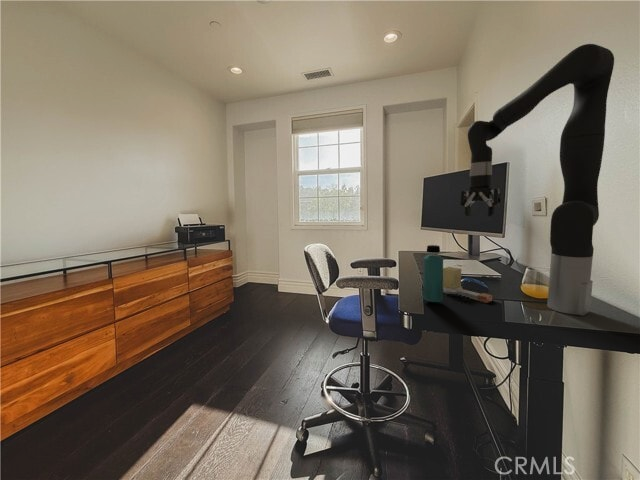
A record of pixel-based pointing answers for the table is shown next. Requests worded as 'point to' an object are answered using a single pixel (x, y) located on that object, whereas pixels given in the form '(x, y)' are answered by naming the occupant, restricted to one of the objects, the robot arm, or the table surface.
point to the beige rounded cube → (451, 277)
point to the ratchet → (469, 294)
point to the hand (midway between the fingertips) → (478, 216)
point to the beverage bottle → (433, 275)
